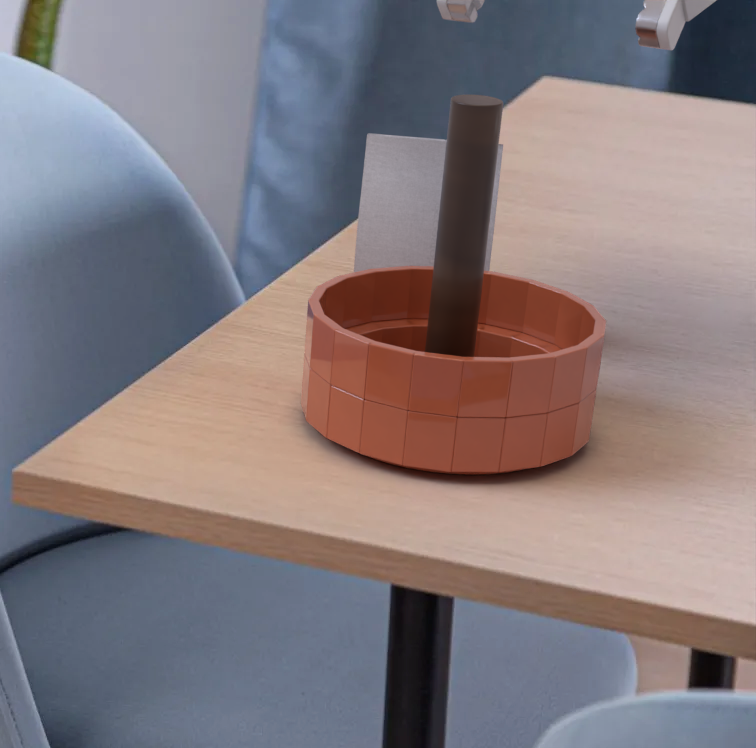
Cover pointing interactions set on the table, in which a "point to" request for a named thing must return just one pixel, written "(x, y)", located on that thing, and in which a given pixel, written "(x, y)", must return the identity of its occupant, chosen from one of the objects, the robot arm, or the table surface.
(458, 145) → the rod
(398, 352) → the bowl
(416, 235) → the grey rectangular block
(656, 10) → the robot arm
